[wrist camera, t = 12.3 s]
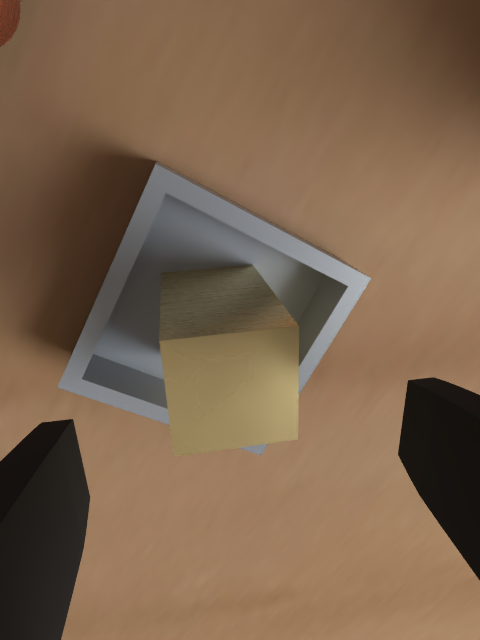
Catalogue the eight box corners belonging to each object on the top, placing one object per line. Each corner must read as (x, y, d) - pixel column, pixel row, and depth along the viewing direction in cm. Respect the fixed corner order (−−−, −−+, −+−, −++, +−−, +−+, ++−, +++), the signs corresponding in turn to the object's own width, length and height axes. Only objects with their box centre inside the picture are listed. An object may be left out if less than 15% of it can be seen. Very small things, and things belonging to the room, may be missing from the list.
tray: (343, 260, 17) (371, 278, 15) (249, 418, 19) (260, 455, 17) (156, 161, 15) (155, 163, 12) (72, 354, 17) (57, 387, 14)
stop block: (252, 264, 16) (299, 326, 10) (255, 346, 17) (297, 439, 12) (161, 272, 16) (159, 340, 10) (170, 356, 17) (173, 456, 11)
